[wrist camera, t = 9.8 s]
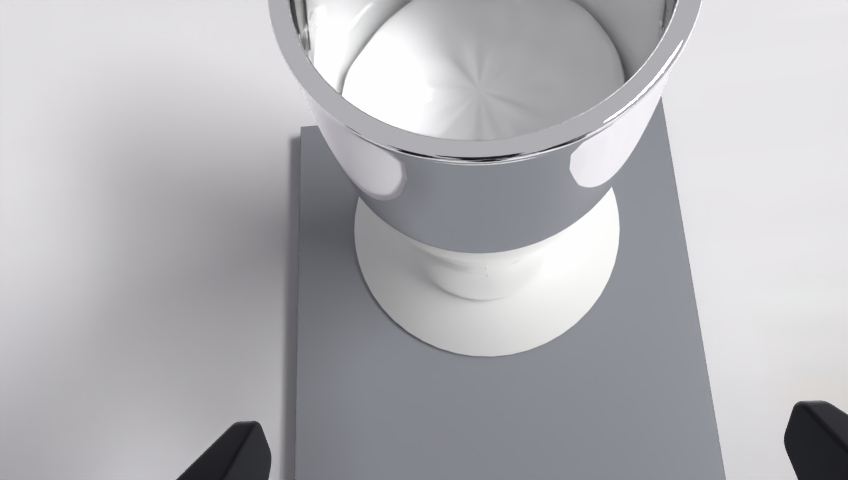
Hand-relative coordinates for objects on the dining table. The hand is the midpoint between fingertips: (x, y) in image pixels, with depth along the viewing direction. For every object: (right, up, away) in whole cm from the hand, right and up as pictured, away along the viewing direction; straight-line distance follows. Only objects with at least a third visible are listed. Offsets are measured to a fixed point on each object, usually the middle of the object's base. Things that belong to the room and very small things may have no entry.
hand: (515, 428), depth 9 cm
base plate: (+1, -3, +13) cm, 13 cm away
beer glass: (+1, +4, +13) cm, 14 cm away
